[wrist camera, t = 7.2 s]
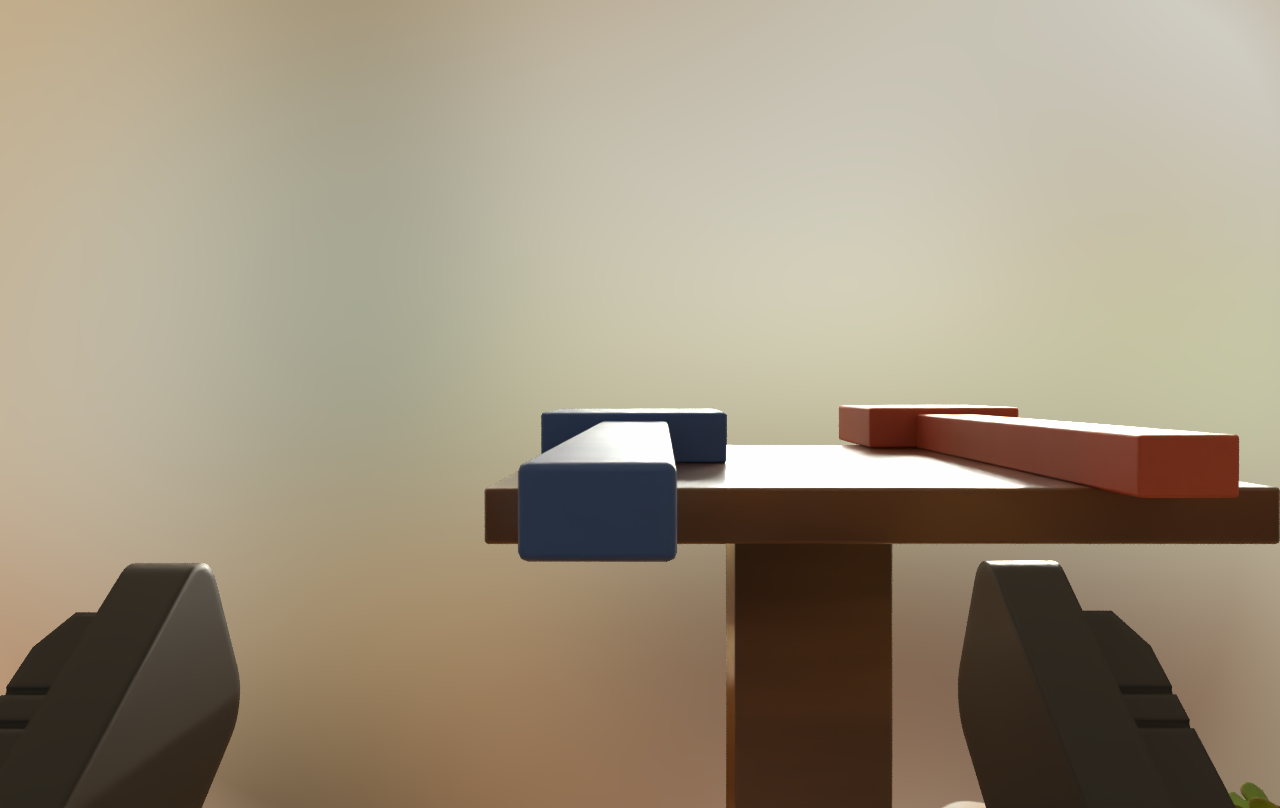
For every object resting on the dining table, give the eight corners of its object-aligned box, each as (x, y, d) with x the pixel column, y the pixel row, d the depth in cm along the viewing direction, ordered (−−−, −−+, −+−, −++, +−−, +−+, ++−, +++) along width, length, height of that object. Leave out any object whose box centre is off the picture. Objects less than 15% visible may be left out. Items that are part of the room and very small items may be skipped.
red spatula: (1329, 497, 18) (1329, 421, 18) (1049, 497, 19) (1049, 422, 19) (965, 439, 40) (966, 405, 40) (838, 439, 41) (838, 405, 41)
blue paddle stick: (817, 562, 12) (818, 442, 12) (377, 562, 12) (377, 442, 12) (715, 450, 34) (715, 408, 34) (562, 450, 34) (562, 408, 34)
